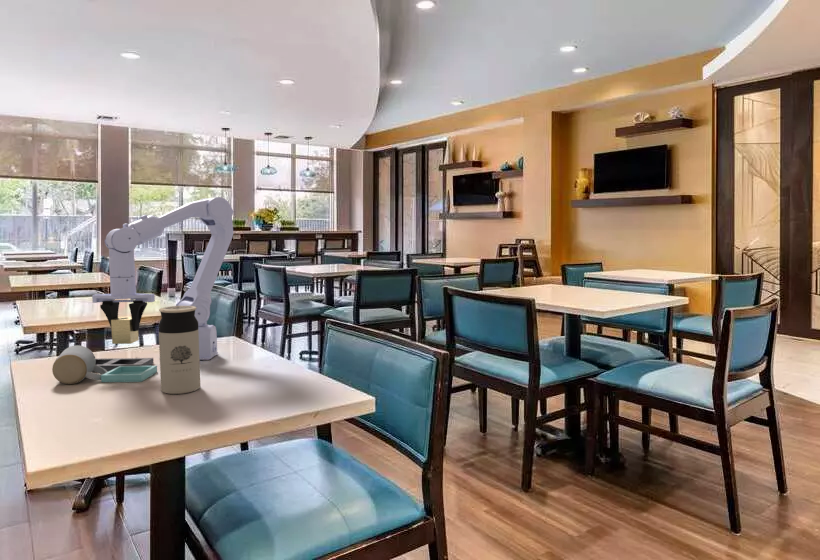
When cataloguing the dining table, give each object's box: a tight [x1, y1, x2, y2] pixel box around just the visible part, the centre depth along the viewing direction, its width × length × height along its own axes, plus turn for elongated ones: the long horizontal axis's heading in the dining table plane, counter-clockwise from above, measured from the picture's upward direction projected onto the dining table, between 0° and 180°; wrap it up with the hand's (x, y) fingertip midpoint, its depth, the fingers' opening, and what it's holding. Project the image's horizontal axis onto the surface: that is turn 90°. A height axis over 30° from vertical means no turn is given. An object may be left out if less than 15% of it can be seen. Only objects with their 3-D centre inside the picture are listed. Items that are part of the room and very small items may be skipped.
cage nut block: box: [110, 316, 139, 345], centre depth 145 cm, size 4×4×6 cm
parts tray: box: [100, 365, 158, 383], centre depth 137 cm, size 9×9×2 cm
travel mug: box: [158, 305, 201, 395], centre depth 125 cm, size 8×8×18 cm
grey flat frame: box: [92, 357, 154, 373], centre depth 146 cm, size 18×8×2 cm, turn 92°
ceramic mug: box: [51, 344, 107, 385], centre depth 134 cm, size 11×8×8 cm
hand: (125, 330), depth 146 cm, fingers closed on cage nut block, 4 cm apart
